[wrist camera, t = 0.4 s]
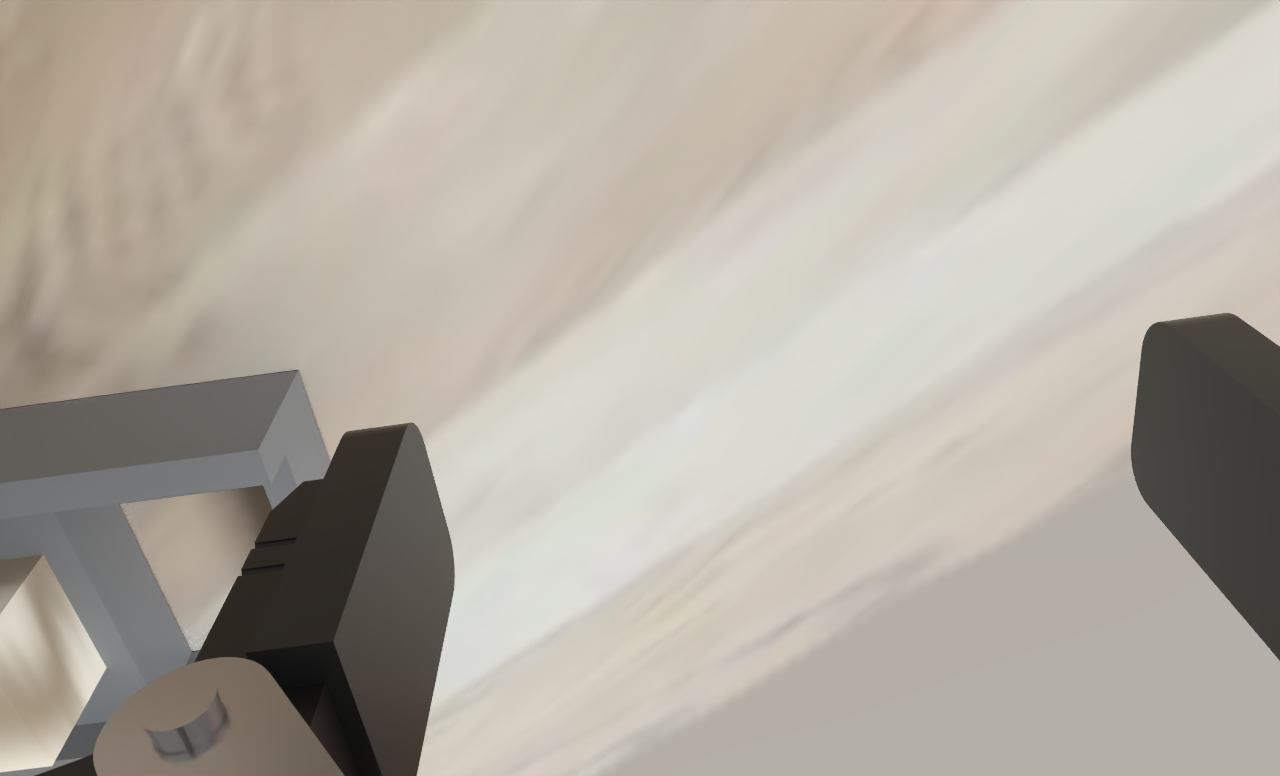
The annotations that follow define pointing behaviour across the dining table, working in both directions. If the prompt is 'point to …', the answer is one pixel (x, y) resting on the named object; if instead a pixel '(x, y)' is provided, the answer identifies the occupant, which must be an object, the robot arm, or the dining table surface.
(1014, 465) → the dining table surface
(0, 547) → the trap lane
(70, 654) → the block
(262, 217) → the dining table surface
